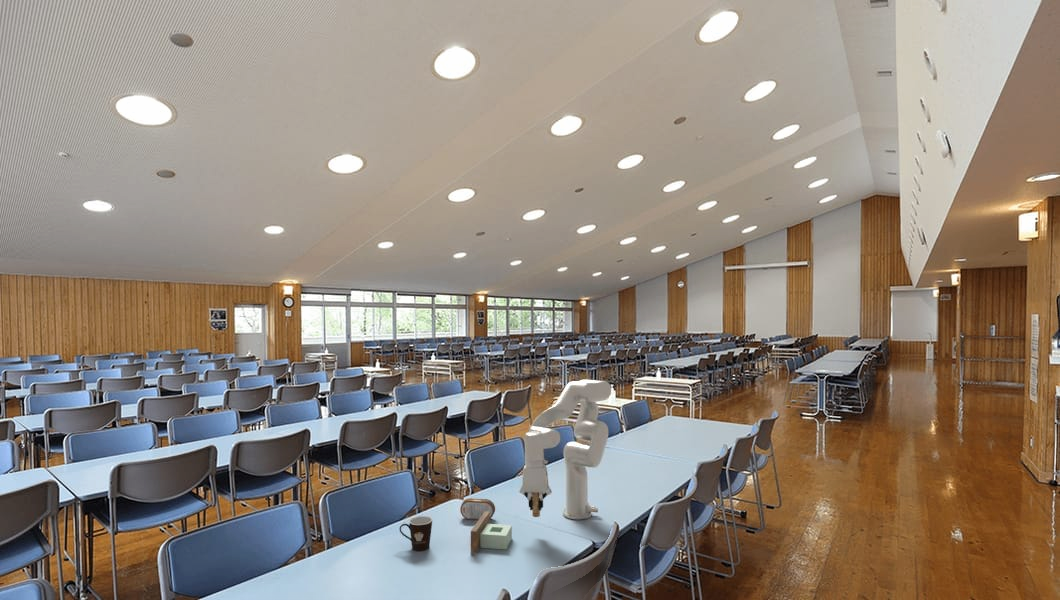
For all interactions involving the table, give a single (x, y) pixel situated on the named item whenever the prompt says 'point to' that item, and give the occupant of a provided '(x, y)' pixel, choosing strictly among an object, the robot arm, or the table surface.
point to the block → (496, 536)
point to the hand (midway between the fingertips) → (536, 508)
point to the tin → (476, 508)
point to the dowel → (535, 505)
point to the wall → (479, 531)
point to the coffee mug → (419, 532)
